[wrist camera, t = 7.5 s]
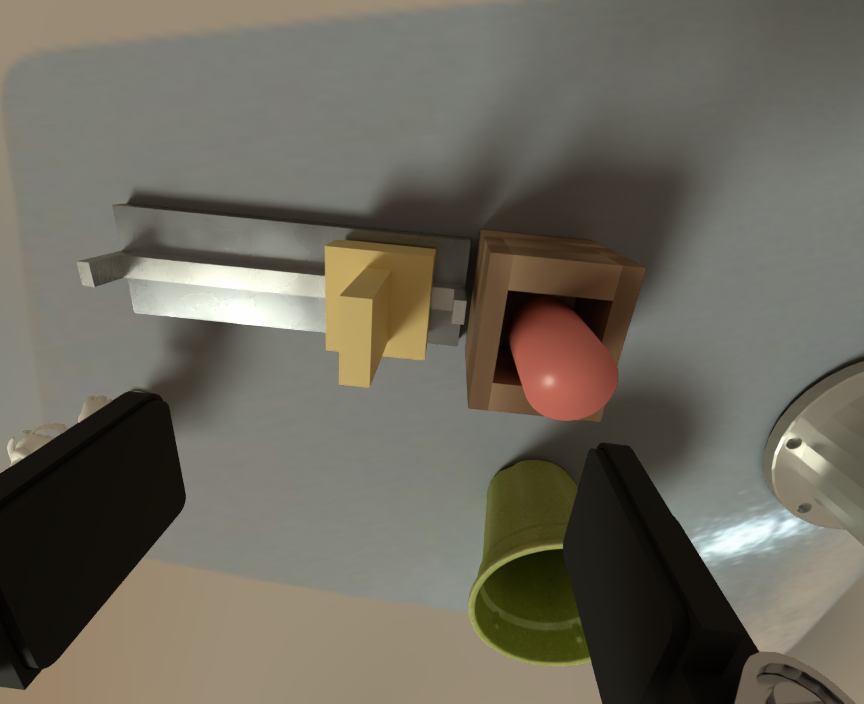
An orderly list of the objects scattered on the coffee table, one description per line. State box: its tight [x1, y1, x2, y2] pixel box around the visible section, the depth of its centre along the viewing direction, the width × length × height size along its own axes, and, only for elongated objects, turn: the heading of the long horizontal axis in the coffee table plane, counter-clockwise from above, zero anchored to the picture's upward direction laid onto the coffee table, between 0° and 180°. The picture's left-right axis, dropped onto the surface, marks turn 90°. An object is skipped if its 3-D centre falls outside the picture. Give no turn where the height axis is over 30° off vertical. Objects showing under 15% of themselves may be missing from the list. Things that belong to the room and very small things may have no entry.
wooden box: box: [465, 230, 646, 422], centre depth 21 cm, size 6×7×7 cm
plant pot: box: [468, 460, 591, 666], centre depth 26 cm, size 9×9×9 cm
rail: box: [77, 204, 471, 346], centre depth 22 cm, size 19×6×4 cm, turn 85°
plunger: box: [507, 296, 618, 421], centre depth 17 cm, size 3×3×5 cm
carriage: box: [325, 239, 436, 388], centre depth 19 cm, size 5×5×8 cm
